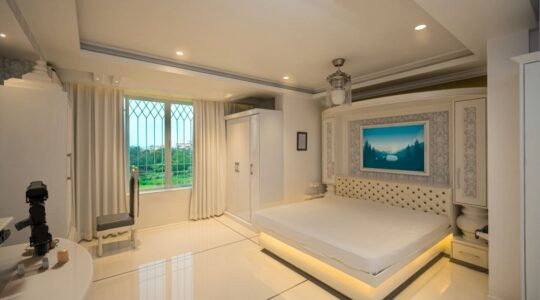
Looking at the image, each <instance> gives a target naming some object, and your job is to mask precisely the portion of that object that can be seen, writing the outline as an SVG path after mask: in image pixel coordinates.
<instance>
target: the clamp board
mask: <svg viewBox="0 0 540 300" xmlns="http://www.w3.org/2000/svg"><path fill="white" fill-rule="evenodd" d="M24 271H25V275H23V276H20V277H19V276H18V278H19V280H21V279H25V278H28V277H31V276H35V275H37V274H40V273H45V272H48V271H50V267H49V268H47V269H43V266H42V262H40V263H38V264H35V265H31V266H28V267H24Z"/></svg>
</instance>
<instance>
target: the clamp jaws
mask: <svg viewBox="0 0 540 300" xmlns="http://www.w3.org/2000/svg"><path fill="white" fill-rule="evenodd" d="M41 261H42V262H41V263H42V266H43V269H47V268H49V269H50V263H49V257H48V256H47V257H43V258H41ZM24 268H25V263H21V264H17V273H18V278H19V277H20V276H23V275H25V271H24Z"/></svg>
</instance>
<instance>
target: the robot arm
mask: <svg viewBox="0 0 540 300" xmlns="http://www.w3.org/2000/svg"><path fill="white" fill-rule="evenodd" d="M43 182H44V181H43V180H36V181H35V180H34V181H31V182H30V183H29V185H28V186H27V187H26V190H25V204H29V207H28V214H29V215H28V217H27V218H24V219H22V220H19V221H17V222H15V223H14V224H13V227H14V228H15V230H16V231H17V232H19V231H21V230H23V229H25V228H28V227H29V229H30V236H29V239H28V240H29V245H30V248H31V247H34V254H32V256H33V257H41V256H44V255H47V254H49V253H50V250H49V249H48V243H51V242H52V239H53V234H52V233H51V232H50V231H49V230H50V229H49V227H50V226H49V225H48V224H47V223H48V222H47V217H46V216H47V213H46V202H47V201H48V199H49V190H48V185H47V184H45V183H43Z"/></svg>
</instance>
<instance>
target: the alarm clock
mask: <svg viewBox="0 0 540 300" xmlns="http://www.w3.org/2000/svg"><path fill="white" fill-rule="evenodd" d="M58 243H60V239H59V238H55V239H53V238H52V242H51V243H48V250H49V249H53V247H54V248H56V246H57V244H58ZM23 251H25V253H34V247H31V248H30V244H29V245H26V246H25V248H24V249H23Z"/></svg>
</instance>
